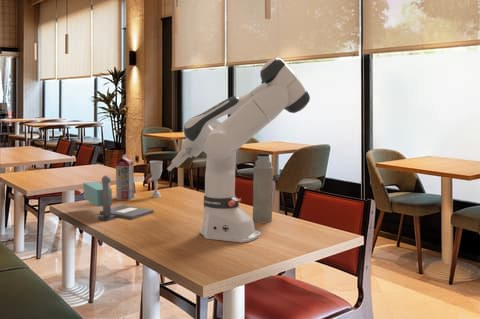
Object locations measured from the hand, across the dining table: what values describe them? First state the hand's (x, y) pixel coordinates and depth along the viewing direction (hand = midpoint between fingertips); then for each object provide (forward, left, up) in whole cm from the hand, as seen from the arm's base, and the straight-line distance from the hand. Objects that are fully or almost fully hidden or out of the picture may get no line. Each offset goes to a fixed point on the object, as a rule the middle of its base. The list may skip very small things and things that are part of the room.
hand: (168, 169), depth 205 cm
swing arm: (+25, +16, -18) cm, 35 cm away
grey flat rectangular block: (+16, +9, -19) cm, 27 cm away
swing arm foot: (+16, +21, -19) cm, 33 cm away
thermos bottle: (-39, -12, -20) cm, 46 cm away
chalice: (+28, -26, -20) cm, 43 cm away
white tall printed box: (+38, -14, -20) cm, 45 cm away
